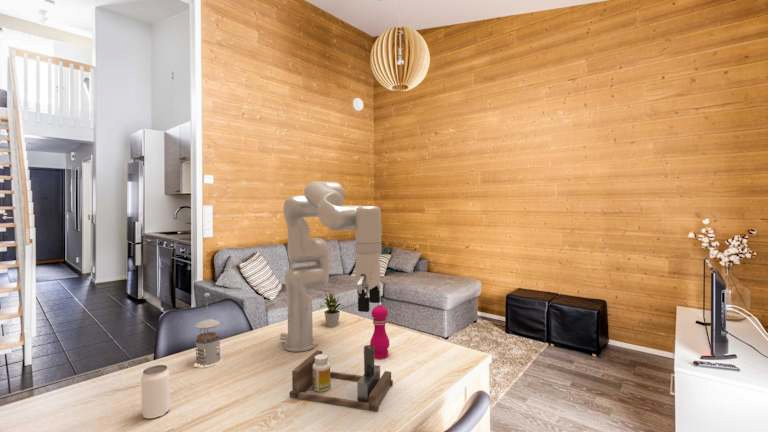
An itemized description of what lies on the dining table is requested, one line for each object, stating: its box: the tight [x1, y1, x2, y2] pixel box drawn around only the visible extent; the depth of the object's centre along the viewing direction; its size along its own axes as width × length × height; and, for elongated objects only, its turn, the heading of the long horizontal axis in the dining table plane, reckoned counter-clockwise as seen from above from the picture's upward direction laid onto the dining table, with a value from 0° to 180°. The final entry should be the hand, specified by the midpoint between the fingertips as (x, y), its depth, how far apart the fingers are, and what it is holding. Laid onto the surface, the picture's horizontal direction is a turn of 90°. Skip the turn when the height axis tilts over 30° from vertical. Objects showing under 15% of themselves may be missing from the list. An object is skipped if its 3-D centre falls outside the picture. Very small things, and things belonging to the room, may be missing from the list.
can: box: [140, 364, 171, 417], centre depth 101 cm, size 6×6×12 cm
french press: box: [194, 292, 222, 366], centre depth 134 cm, size 10×12×25 cm
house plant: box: [318, 290, 347, 328], centre depth 173 cm, size 14×14×16 cm
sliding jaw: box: [356, 344, 381, 403], centre depth 110 cm, size 3×12×14 cm, turn 163°
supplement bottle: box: [312, 353, 331, 393], centre depth 114 cm, size 5×5×10 cm
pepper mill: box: [369, 301, 390, 360], centre depth 138 cm, size 7×7×20 cm
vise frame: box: [288, 350, 394, 413], centre depth 112 cm, size 27×16×8 cm, turn 73°
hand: (369, 306), depth 109 cm, fingers open, 9 cm apart
